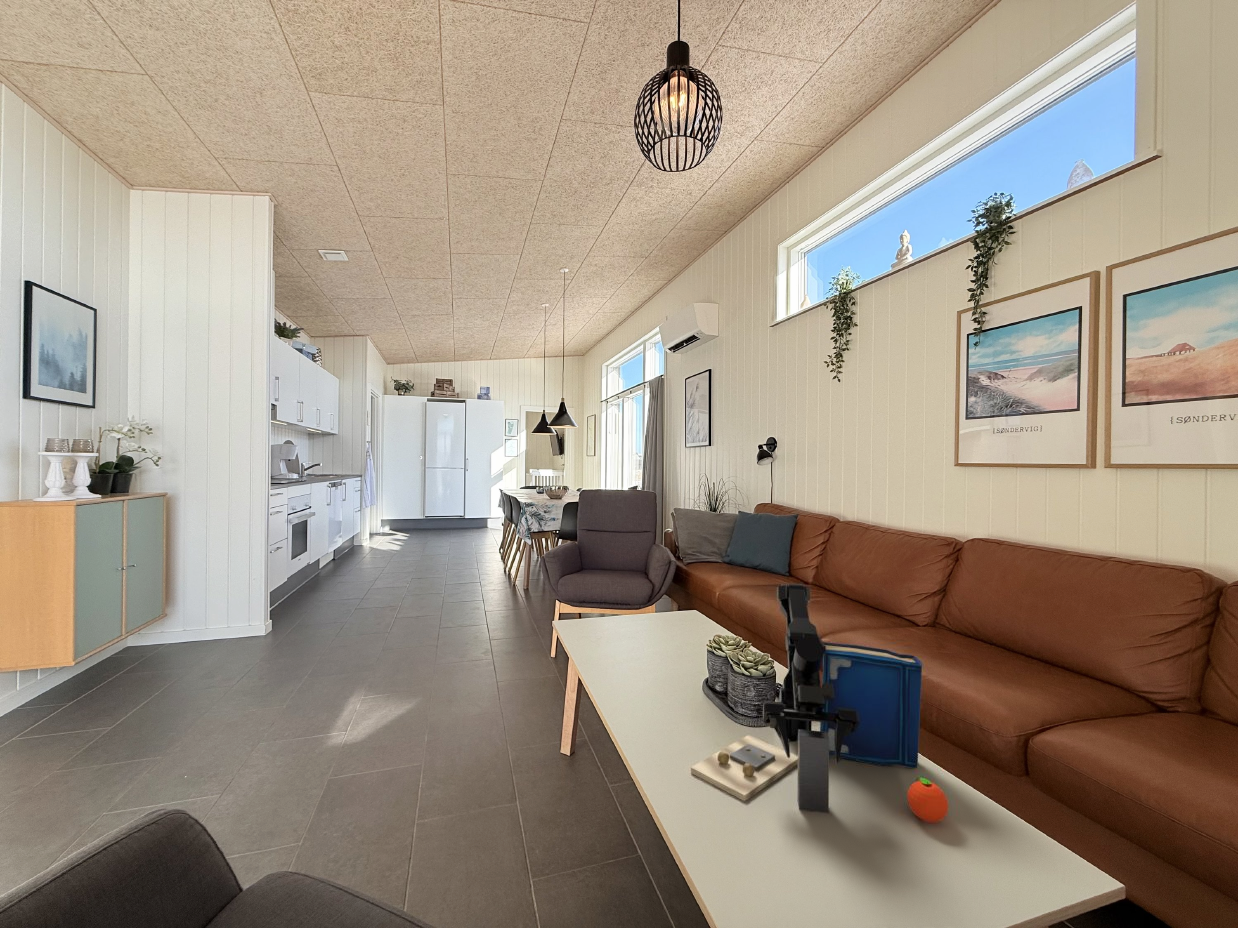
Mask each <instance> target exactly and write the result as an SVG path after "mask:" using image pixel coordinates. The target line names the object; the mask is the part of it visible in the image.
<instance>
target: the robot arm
mask: <svg viewBox="0 0 1238 928" xmlns="http://www.w3.org/2000/svg"><path fill="white" fill-rule="evenodd" d="M776 601H778V602H779V610H780V612H782V614H783V615H784V617H785V626H786V633H785V650H786V651H787V668H788V669H787V671H788V672H787V673H786V675H785V677H784V679H783V680H782V681H783V682H782V687H780V689H779V696H778V698H779V699H778V701H773V700H772V701H771V700H765V702H764V703H763V706H762V707H763V708H762V723H763V724H766V725H767V724H768V725H769V729H770V728H771V729H774V732H775V733H776V735H777V736H778V738H779V741H780V742H781V745H782V747H783V750H785V752H786V755H787V757H788V758H790V753H791V752H790V751H791V749H790V748H791V747H790V742H791V743H794V742H795V743H796V742H797V743H798V729H802V730H812V725H813V723H812V722H819V723H820V722H826V723H835V727H836V729H835V732H834V740H835V756H834V760H835V763H836V764H839V762H840V758H841V757H840V752H841V747H842V742H843V739H844V736H849V735H850V733H851V732H856V730H857V727H858V724H859V716H858V712H857V711H856V710H855V709H850V708H840V707H837V710H836V713H827V712H823V709H825V700H830V701H832V700H834V690H833V684H829V683H824V684H822V683H821V678H820V677H821V675H820V670H821V667H822V665H823V655H824V651H825V652H826V646H825V644H824V641H823V640H822V636H821V635H819V634H818V630H817V626H816V625H815V624H814V623H812V622H811V621H810V614H809V609H808V603H811V602H812V601H811V587H808V586H806V585H805V584H803V583H788V584H787V583H781V585H779V586H777V587H776Z"/></svg>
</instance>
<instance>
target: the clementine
mask: <svg viewBox="0 0 1238 928" xmlns="http://www.w3.org/2000/svg"><path fill="white" fill-rule="evenodd" d="M906 796H907V803H908V806H909V808H910V810H911V811H912V813H913V814H914V815H915V816H917V817H918V818H919V819H920V820H922V821H924V822H928V823H938V822H940V821H942V820H943V819H945V818H946V816H947V814H948V811H949V802H948V798H947V797H946V793H944V791H943V790H942V788H941V787H939V786H938V785H937V784H936V783H934V782H932V781H930V780H928V779H927V778H924V777H917V778H916V779H915V781H914V782H913V783H912V784H911V785H910V786H909V789H908V790H907V794H906Z"/></svg>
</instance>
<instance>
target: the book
mask: <svg viewBox="0 0 1238 928" xmlns="http://www.w3.org/2000/svg"><path fill="white" fill-rule="evenodd" d="M823 642H824V641H823ZM824 644H825V646H826V652H825V651H824V655H823V660H822V677H821V678H822V679H821V685H822V684H824V683H829V684H833V690H834V700H832V701H830V700H825V709H823V712H827V713H836V710H837V707H840V708H850V709H855V710H856V711H857V712H858V716H859V724H858V727H857V730H856V732H851V733H850V735H849V736H844V739H843V742H842V747H841V752H840V758H842V759H846V760H850V761H855V762H860V761H861V763H866V762H867V764H873V765H878V764H879V765H880V766H884V765H886V766H896V765H898V766H900V767H904V768H907V769H908V768H909V769H917V767H918V763H919V743H920V723H921V722H920V720H921V718H920V717H921V698H922V697H921V696H922V676H923V673H922V672H923V671H922V670H923V663H922V661H921V660H920V659H919V658H918V657H917V656H914V655H911V654H903V653H902V654H901V653H897V652H894V651H891V650H888V649H885V648H884V649H883V648H878V647H872V646H871V647H870V646H865V645H864V646H863V645H858V644H857V645H856V644H849V643H837V642H836V643H835V642H824ZM819 723H820V724H819V725H820V726H819V731H822V732H827V734H828V737H829V756H834V757H835V740H834V732H835V729H836V727H835V723H826V722H819ZM879 765H878V766H879Z"/></svg>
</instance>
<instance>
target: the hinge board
mask: <svg viewBox="0 0 1238 928" xmlns="http://www.w3.org/2000/svg"><path fill="white" fill-rule="evenodd" d="M796 766H798V754H797V755H796V754H794V753H792V752H790V758H788V757H787V755H786V752H785V750H784V748H783V749H782V748H780V747H777V746H775V745H773V744H770V743H768V742H766V741H763V740H761V739H759V738H756V737H754V736H752V735H749V734H747V735H746V736H744V737H742V738H740V739H738V740H736V741H735V742H733V743H731V744H730V745H727V746H726V747H725V748H722V749H721V750H719V751H717V752H716V753H714V754H712V755H710V756H708V757H707V758H704V759H703V760H701V761H699V762H698V763H696V764H694V765H693V766H690V774H692V775H694V776H696V777H698V778H700V779H701V780H704V781H706V782H707V783H710V784H711V785H713V786H715V787H717V788H719V789H721V790H722V791H725V792H727V793H729V794H730V795H733V796H734V797H736V798H738V799H739V800H741V801H743V802H746V801H747V800H748V799H750V798H752V797H753V796H754V795H756V794H757V793H759V792H760V791H762V790H763V789H764V788H766V787H767V786H769V785H770V784H771V783H773V782H774V781H776V780H777V779H778V778H780V777H781V776H783V775H784V774H785V773H787V772H788V771H790V770H792V769H793V768H794V767H796Z"/></svg>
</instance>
